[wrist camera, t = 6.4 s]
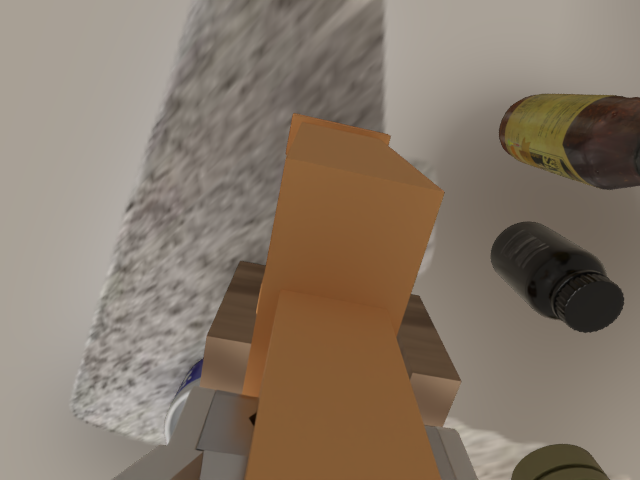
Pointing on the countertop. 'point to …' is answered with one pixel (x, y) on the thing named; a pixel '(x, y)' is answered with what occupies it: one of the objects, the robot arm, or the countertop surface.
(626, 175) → the sauce bottle
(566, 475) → the piston
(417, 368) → the crossbar stand
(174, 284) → the countertop surface
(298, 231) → the orange stepped block
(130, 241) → the countertop surface
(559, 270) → the supplement bottle
